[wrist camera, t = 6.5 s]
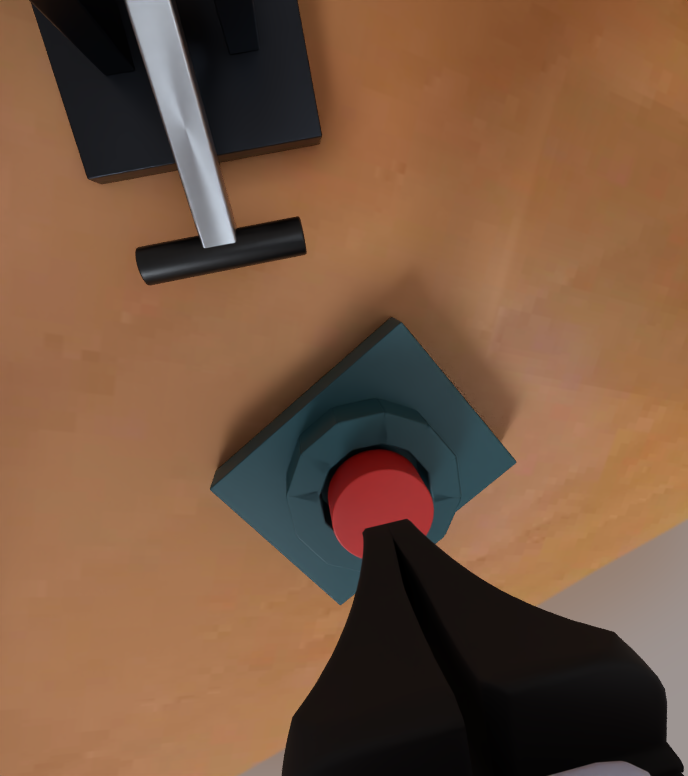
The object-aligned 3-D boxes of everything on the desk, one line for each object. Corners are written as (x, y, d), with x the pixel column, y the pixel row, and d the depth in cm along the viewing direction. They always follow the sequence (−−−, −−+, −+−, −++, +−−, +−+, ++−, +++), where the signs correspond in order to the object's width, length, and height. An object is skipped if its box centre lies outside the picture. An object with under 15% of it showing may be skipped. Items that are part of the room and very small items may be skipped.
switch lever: (303, 243, 17) (310, 264, 15) (156, 272, 16) (143, 298, 14) (214, -215, 11) (206, -283, 9) (-20, -183, 10) (-84, -245, 8)
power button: (368, 550, 18) (377, 579, 17) (307, 491, 17) (310, 516, 16) (438, 492, 18) (454, 516, 16) (380, 429, 17) (391, 448, 15)
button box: (336, 580, 22) (345, 637, 19) (215, 471, 20) (201, 513, 17) (499, 446, 21) (539, 482, 18) (391, 316, 19) (413, 328, 16)
